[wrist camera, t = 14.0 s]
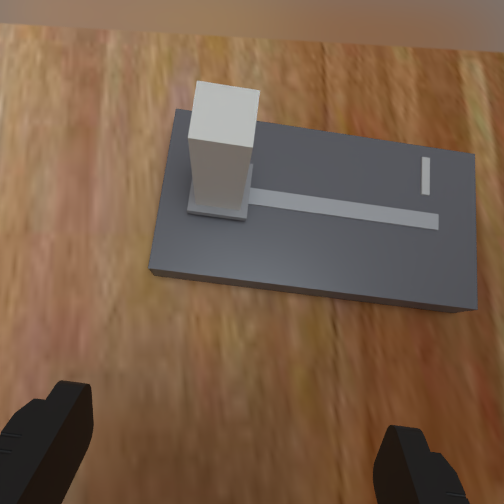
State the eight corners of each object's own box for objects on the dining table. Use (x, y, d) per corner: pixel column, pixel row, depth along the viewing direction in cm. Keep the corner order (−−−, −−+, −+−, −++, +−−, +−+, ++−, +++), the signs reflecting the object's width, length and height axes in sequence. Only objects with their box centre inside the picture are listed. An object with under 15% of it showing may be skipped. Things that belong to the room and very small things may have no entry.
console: (452, 170, 34) (476, 152, 31) (453, 312, 32) (479, 309, 29) (179, 129, 33) (175, 107, 30) (154, 275, 30) (147, 267, 27)
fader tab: (252, 167, 29) (271, 83, 20) (245, 221, 28) (262, 159, 19) (196, 159, 29) (188, 69, 19) (187, 213, 28) (174, 146, 18)
